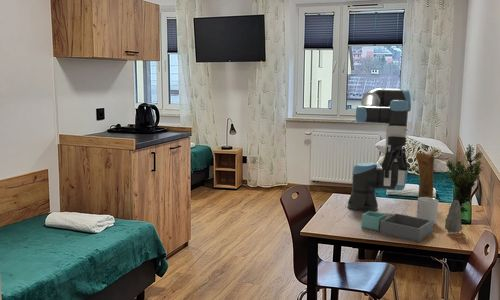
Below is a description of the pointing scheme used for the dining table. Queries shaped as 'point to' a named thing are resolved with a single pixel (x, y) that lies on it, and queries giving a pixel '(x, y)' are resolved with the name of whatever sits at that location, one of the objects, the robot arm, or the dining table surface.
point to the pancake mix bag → (425, 174)
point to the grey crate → (406, 227)
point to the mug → (427, 208)
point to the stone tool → (454, 218)
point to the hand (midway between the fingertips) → (394, 185)
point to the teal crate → (372, 220)
